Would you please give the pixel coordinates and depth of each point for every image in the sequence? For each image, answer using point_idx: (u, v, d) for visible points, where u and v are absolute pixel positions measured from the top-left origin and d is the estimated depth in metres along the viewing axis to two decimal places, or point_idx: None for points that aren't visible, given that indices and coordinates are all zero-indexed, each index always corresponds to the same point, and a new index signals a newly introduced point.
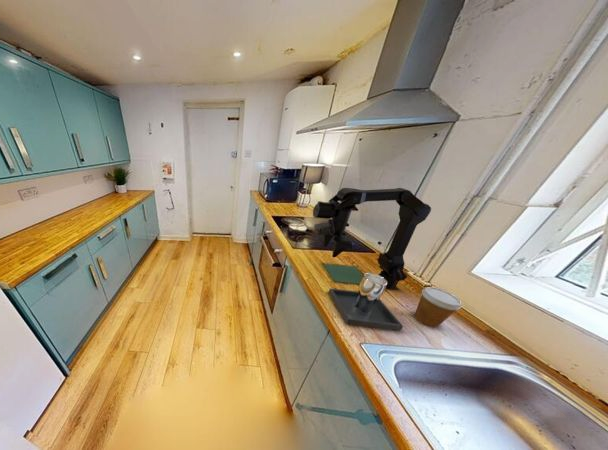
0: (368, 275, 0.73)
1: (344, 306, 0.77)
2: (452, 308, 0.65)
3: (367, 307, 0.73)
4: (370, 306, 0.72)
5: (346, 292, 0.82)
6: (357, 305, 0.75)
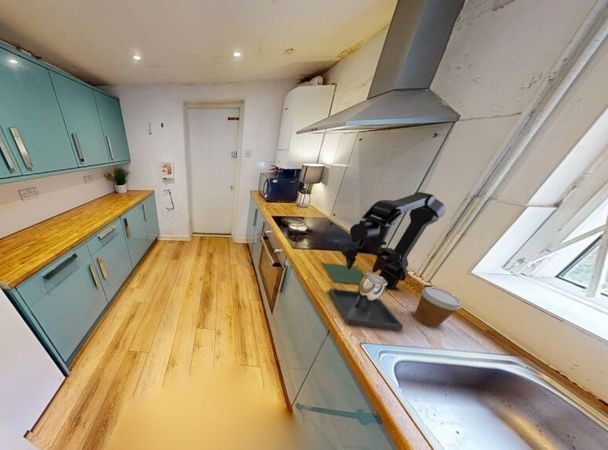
0: (368, 275, 0.73)
1: (344, 306, 0.77)
2: (452, 308, 0.65)
3: (367, 307, 0.73)
4: (370, 306, 0.72)
5: (346, 292, 0.82)
6: (357, 305, 0.75)
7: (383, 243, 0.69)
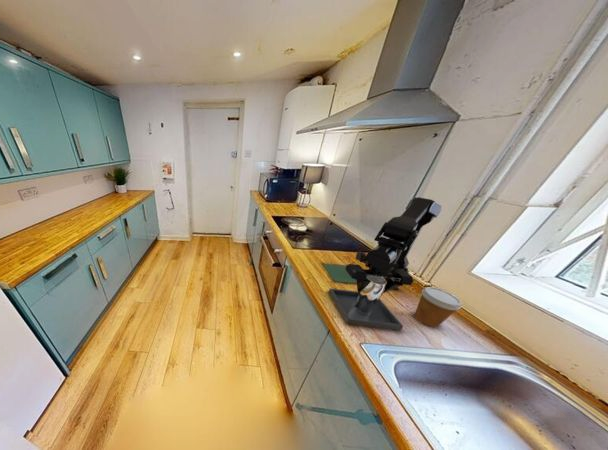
0: None
1: (344, 306, 0.77)
2: (452, 308, 0.65)
3: (367, 307, 0.73)
4: (370, 306, 0.72)
5: (346, 292, 0.82)
6: (357, 305, 0.75)
7: (395, 265, 0.64)
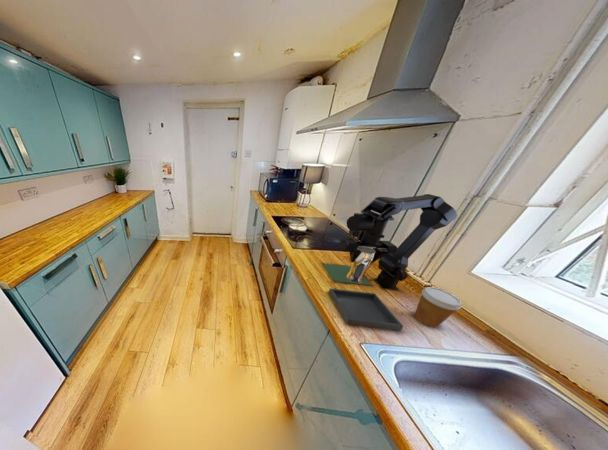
0: (359, 248, 0.84)
1: (344, 306, 0.77)
2: (452, 308, 0.65)
3: (359, 276, 0.83)
4: (361, 274, 0.83)
5: (346, 292, 0.82)
6: (350, 274, 0.85)
7: (381, 236, 0.75)
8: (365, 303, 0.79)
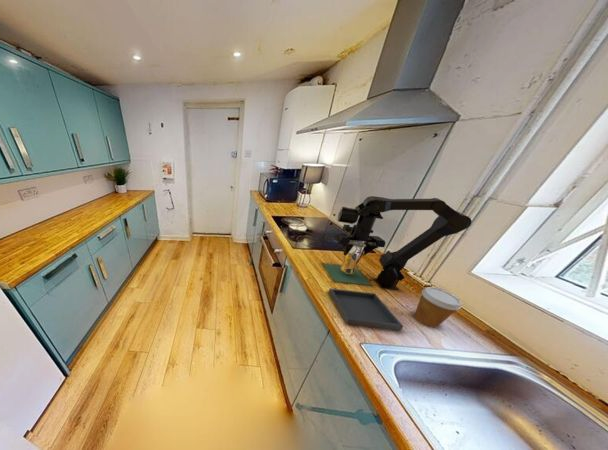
0: (352, 242, 0.93)
1: (344, 306, 0.77)
2: (452, 308, 0.65)
3: (351, 268, 0.92)
4: (353, 266, 0.92)
5: (346, 292, 0.82)
6: (344, 267, 0.94)
7: (370, 231, 0.84)
8: (365, 303, 0.79)
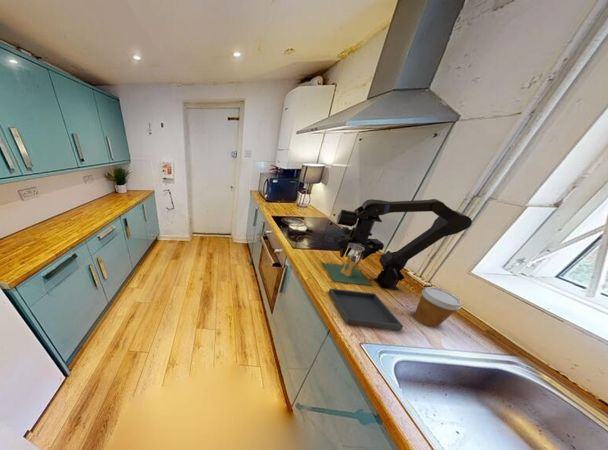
0: (351, 246, 0.94)
1: (344, 306, 0.77)
2: (452, 308, 0.65)
3: (350, 271, 0.93)
4: (352, 269, 0.92)
5: (346, 292, 0.82)
6: (342, 270, 0.95)
7: (369, 234, 0.84)
8: (365, 303, 0.79)
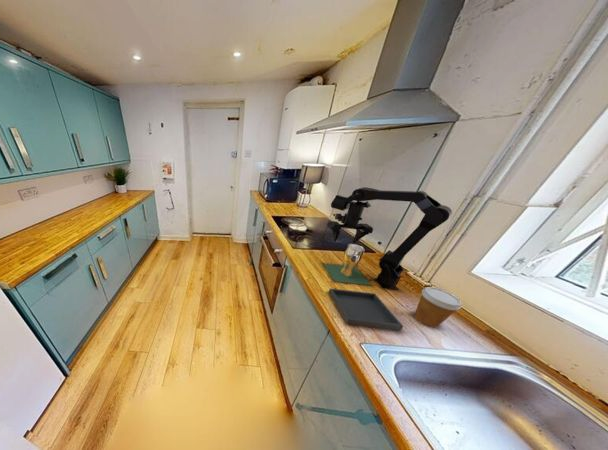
0: (351, 246, 0.94)
1: (344, 306, 0.77)
2: (452, 308, 0.65)
3: (350, 271, 0.93)
4: (352, 269, 0.92)
5: (346, 292, 0.82)
6: (342, 270, 0.95)
7: (360, 218, 0.92)
8: (365, 303, 0.79)
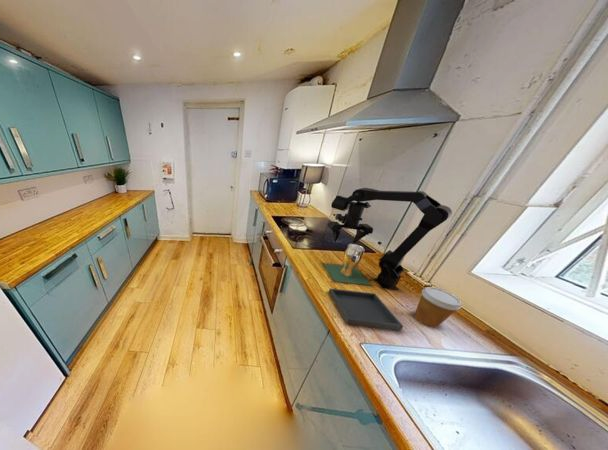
0: (351, 246, 0.94)
1: (344, 306, 0.77)
2: (452, 308, 0.65)
3: (350, 271, 0.93)
4: (352, 269, 0.92)
5: (346, 292, 0.82)
6: (342, 270, 0.95)
7: (360, 219, 0.93)
8: (365, 303, 0.79)
